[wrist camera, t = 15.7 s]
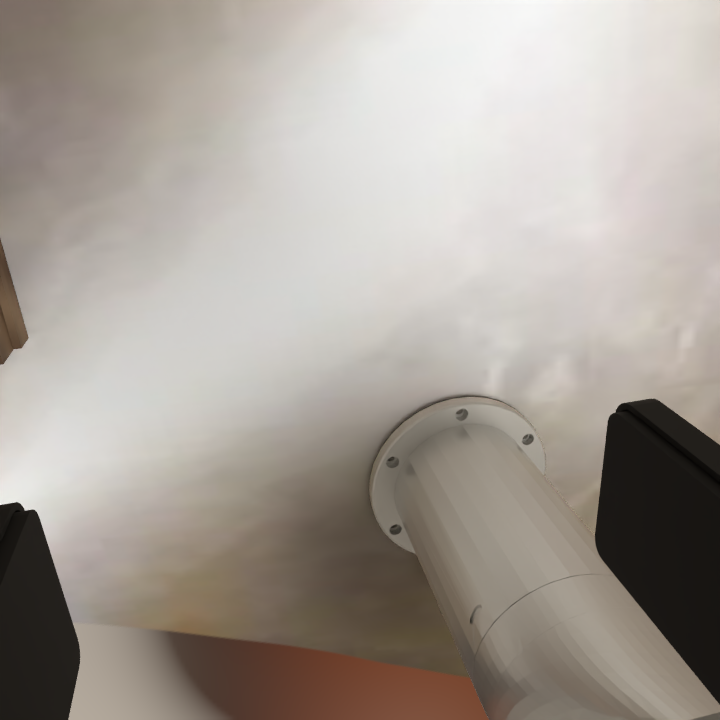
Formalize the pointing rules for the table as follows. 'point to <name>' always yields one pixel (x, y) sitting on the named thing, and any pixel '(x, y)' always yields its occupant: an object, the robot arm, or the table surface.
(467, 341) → the table surface
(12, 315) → the wooden stepped riser
